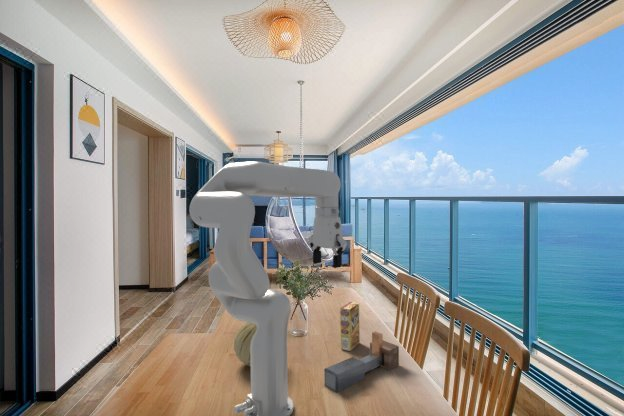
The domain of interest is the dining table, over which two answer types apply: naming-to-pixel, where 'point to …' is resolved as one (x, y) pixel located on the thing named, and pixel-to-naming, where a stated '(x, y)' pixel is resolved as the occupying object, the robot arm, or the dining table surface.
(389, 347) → the socket
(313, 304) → the dining table surface
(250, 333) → the cantaloupe
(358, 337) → the candy box
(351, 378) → the dark grey rectangular box
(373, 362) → the sliding latch bolt
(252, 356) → the robot arm
